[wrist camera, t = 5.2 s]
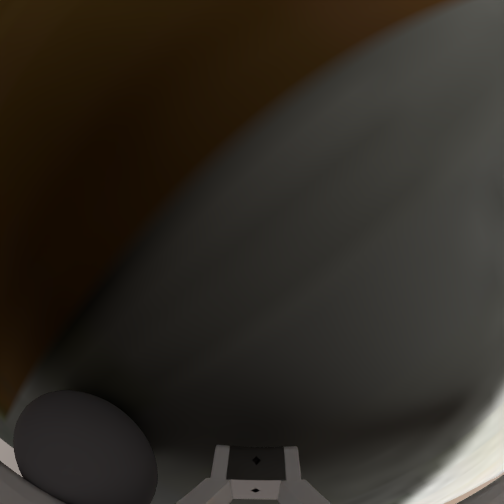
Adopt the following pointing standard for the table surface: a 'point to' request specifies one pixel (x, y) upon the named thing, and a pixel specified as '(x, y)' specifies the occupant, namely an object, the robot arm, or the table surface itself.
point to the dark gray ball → (84, 450)
